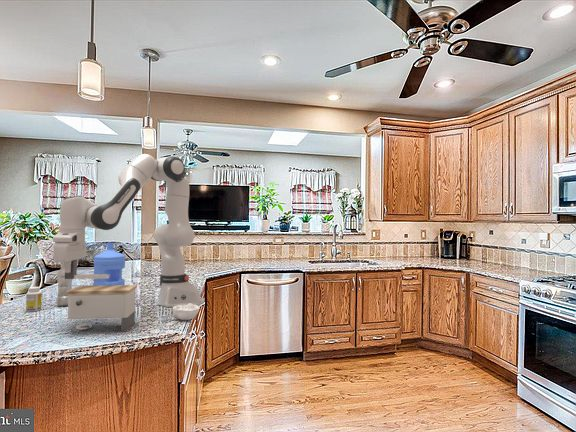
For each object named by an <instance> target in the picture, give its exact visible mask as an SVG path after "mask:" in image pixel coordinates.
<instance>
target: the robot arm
mask: <svg viewBox="0 0 576 432" xmlns="http://www.w3.org/2000/svg"><path fill="white" fill-rule="evenodd" d="M117 179H118V183H119V185H120V189H118V191H117V192H116V193H115V194H114V196H113V197H111V199H110V200H109V201H108V202H106V203H104V204H100V205H99V204H97V203H94V202H92V201H90V200H88V199H87V198H85V196H83V195H75V196H66V197H64V198H63V199H62V200H61V203H60V208H59V220H60V224H59V229H58V232H57V233H56V234H55V235H54V236H53V237H52V242H53V243H54V244H53V261H54V262H55V263H58V264H59V263H60V264H61V263H64V267H65V272H66V273H70V272H72V268H71V261H73V260H77V266H78V265H79V260H81V259H85V258H87V241H86V228H89V229H90V228H91V229H95V230H97V229H98V230H103V231H110V230H113V229H114V228H116V227H117V226H118V225H119V224H120V221H121V219H122V215H123V213H124V211H125V210H126V208H127V207H128V206H129V205H130V203H131V202H132V201H133V200H134V198H135V197H136V196H137V194H138V193H139V191H140V190H141V189H142V188H143V187H144V186H145V185H146V184H147V183H148V182H149V181H150V180H153V181H156V182H161V181H163V182H164V181H165V183H166V193H165V194H166V195H165V203H164V204H165V205H164V212H165V214H166V216H167V219H168V223H166V224H161V225H159V226H158V227H156V228H155V229H154V232H153V238H154V241H155V242H156V243H157V245H158V246H157V247H158V249H159V254H160V259H161V260H160V261H161V262H160V263H161V265H160V266H161V268H160V269H161V272H160V277H159V285H160V288H159V295H158V300H157V303H156V304H157V305H158V306H162V307H165V308H173V307H174V306H177V305H187V304H189V303H191V304H193V305H197V306H201V305H203V304H204V303H205V298H204V297H201V293H200V290H199V288H198V287H197V286H196V285H194V284H193V283H192V282H190V281H189V280H190V276H189V274H187V273H185V271H186V269H185V266H186V258H185V256H184V255H183V253H182V251H181V248H183V247H187V246H189V245H192V243H193V242H194V240H195V237H196V235H195V231H194V229H193V228H192V227H191V223H190V220H189V219H190V218H189V201H190V181H189V180H190V179H188V177H186V166H185V163H184V161H183V160H182V159H181V158H179V157H177V156H172V155H171V156H164V157H161V158H157V159H155V157H153V156H152V155H151V154H148V153H142V154H140V155H138V156H136V157H135V158H134V159H133V160H131V161H130V162H129V163H128V164H126V166H125V167H124V168H123V169H121V172H120V173H119V175H118V177H117Z"/></svg>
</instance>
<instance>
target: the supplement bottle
mask: <svg viewBox="0 0 576 432" xmlns="http://www.w3.org/2000/svg"><path fill="white" fill-rule="evenodd" d="M40 289H41V287H40V286H33V287H32V286H31V287H28V292H26V294H25V295H26V299H25V303H26V304H25V308H26V312H28V313H29V312H30V313H31V312H39V311H41V310H42V309H43V308H42V307H43V306H42V303H43V302H42V301H43V299H42V297H43V292H42V291H41V290H40Z"/></svg>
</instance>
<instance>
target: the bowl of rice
mask: <svg viewBox="0 0 576 432" xmlns="http://www.w3.org/2000/svg"><path fill="white" fill-rule="evenodd" d="M200 307H201V305H193V304H191V303H189V304H187V305H177V306H174V307H172V315H173V316H174V317H175V318H176V319H179V320H180V321H190V320H193V319H195V317H196V316H197V315H198V313H199V310H200V309H201V308H200Z"/></svg>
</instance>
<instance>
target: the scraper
mask: <svg viewBox="0 0 576 432" xmlns="http://www.w3.org/2000/svg"><path fill="white" fill-rule="evenodd" d="M71 268H72V272H70V273H66V272H65V279H72V280H81V279H82V280H83V279H84V280H85V279H86V280H89V279H90V280H94V279H108V278H110V274H94V273H93V274H89V273H88V274H85V273H84V274H81V273H80V274H78V273H77V272H78V270H77V269H78V265H77V260H73V261H71Z"/></svg>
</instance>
